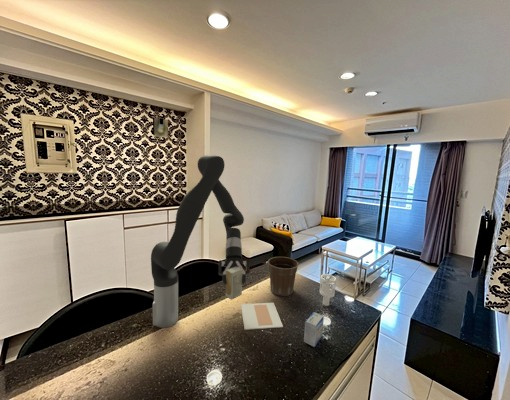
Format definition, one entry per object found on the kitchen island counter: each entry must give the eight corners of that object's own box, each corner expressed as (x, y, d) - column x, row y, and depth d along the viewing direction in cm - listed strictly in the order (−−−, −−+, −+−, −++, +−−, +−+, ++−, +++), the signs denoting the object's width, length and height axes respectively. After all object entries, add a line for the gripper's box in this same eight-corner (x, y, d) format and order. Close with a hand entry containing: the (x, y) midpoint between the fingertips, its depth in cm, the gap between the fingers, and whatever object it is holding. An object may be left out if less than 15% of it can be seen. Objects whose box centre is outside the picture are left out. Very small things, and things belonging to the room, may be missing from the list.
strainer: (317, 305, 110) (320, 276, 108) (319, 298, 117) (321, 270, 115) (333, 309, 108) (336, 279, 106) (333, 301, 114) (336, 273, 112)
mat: (244, 329, 91) (244, 328, 91) (240, 304, 108) (240, 303, 108) (283, 327, 94) (283, 326, 94) (273, 303, 111) (273, 302, 110)
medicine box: (314, 348, 84) (316, 326, 82) (303, 342, 86) (305, 321, 85) (322, 336, 90) (324, 316, 89) (311, 331, 93) (313, 311, 91)
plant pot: (260, 289, 123) (261, 260, 121) (279, 280, 134) (281, 254, 132) (282, 302, 112) (284, 271, 109) (302, 291, 122) (304, 263, 120)
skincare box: (235, 291, 104) (237, 265, 102) (242, 295, 101) (243, 269, 99) (224, 296, 99) (225, 269, 98) (230, 300, 96) (231, 273, 95)
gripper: (218, 245, 104) (217, 281, 94) (249, 245, 106) (251, 281, 96) (218, 252, 109) (217, 287, 99) (247, 252, 112) (249, 286, 102)
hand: (234, 284), depth 98 cm, fingers closed on skincare box, 7 cm apart
